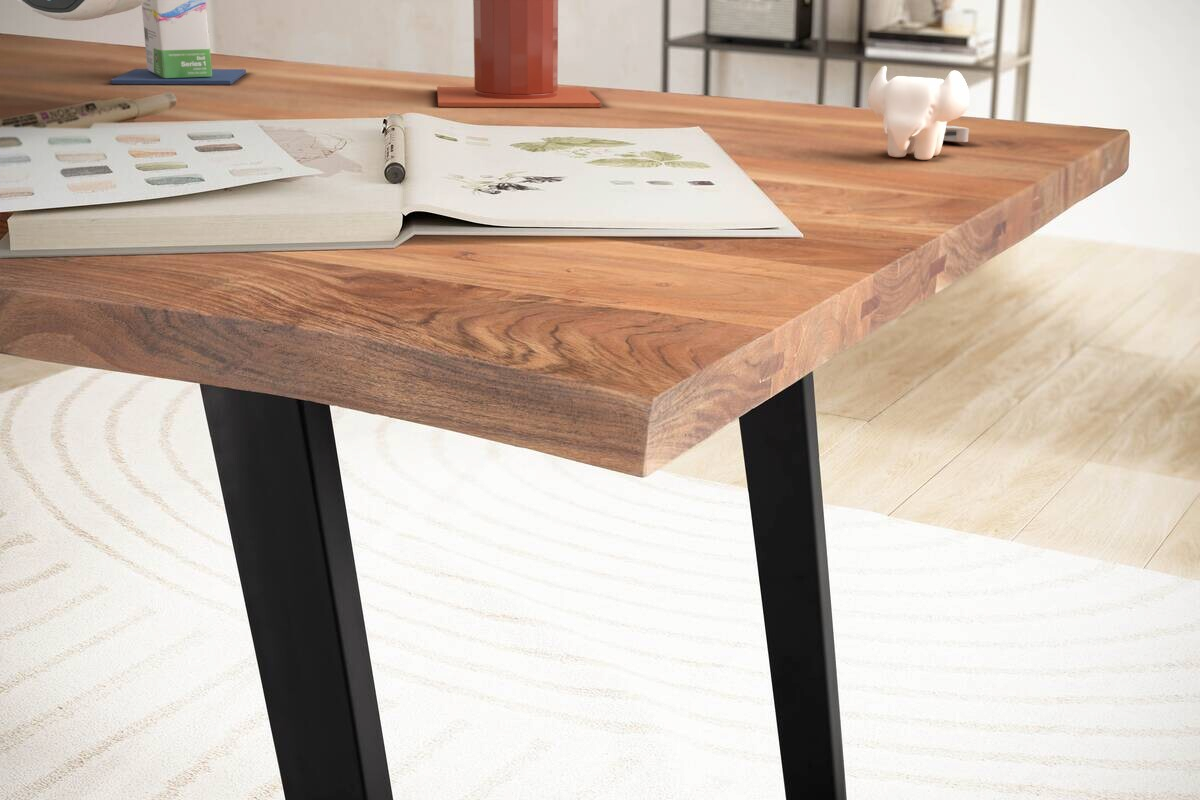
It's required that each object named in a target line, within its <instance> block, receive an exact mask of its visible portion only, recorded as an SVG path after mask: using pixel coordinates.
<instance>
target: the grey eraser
mask: <svg viewBox="0 0 1200 800" xmlns="http://www.w3.org/2000/svg"><path fill="white" fill-rule="evenodd" d="M969 132H970V128H969V127H964V126H957V125H946V129H945V134H944V139H943V142H951V143H967V142H969Z"/></svg>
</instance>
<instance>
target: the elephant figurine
mask: <svg viewBox="0 0 1200 800" xmlns="http://www.w3.org/2000/svg"><path fill="white" fill-rule="evenodd" d="M887 69H888V67H887V66H886V65H883V66H881V67H880V68H879V70H878V71H877V73H876V74H875V76H874V77H873V79H872V81H871V83H870V84H869V89H868V91H867V92H868V93H867V104H868V107H869V109H870V110H871V112H872V113H873V114H874V115H876V116H877V117H879V118H883V120H882V126H883V131H884V133H885V134H886V135H887V141H886V142H887V146H886V148H887V154H888V156H890V157H893V158H904V157H906V156H907V154H911V153H913V155H914V158H915V159H917V160H921V161H927V160H930V159H932V158H933V157H934V156H938V155H939V154H940V153H941V150H942V147H943V143H944V141H943V139H944V134H945V129H946V126H947V123H948V122H950V121H954V120H957V119H959V118H961V117H962V116H963V115H964V114H965V113H966V112H967V111H968V108H969V105H970V91H969V88H968V87H969V86H968V84H967V82H966V80H965V78H964V76H963V74H962V73H960V71H958V70H951V71H949V73H948V74H947V76H946V77H945V78H944V79H942V78H936V77H920V76H905V75H896V76H894V77H893V78H892V77H891V79H890V80H889V81H888V80H887Z"/></svg>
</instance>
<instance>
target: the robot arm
mask: <svg viewBox="0 0 1200 800" xmlns="http://www.w3.org/2000/svg"><path fill="white" fill-rule="evenodd" d="M16 1H17V2H18V3H19V4H21V5H22V6H24V8H25V7H26V8H27V9H29V10H31V11H32V12H35V13H37V14H40V15H42V16H43V17H44V16H45V17H47V18H51V19H55V20H59V21H67V22H68V21H71V22H75V21H76V22H77V21H78V22H79V21H88V20H95V19H99V18H103V17H105V16H106V17H107V16H111V15H116V14H120V13H124V12H125V13H126V12H129V11H131V10H134V9H136V8H138V7H140V6H142V4H143V3H145V2H146V1H147V0H16Z"/></svg>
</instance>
